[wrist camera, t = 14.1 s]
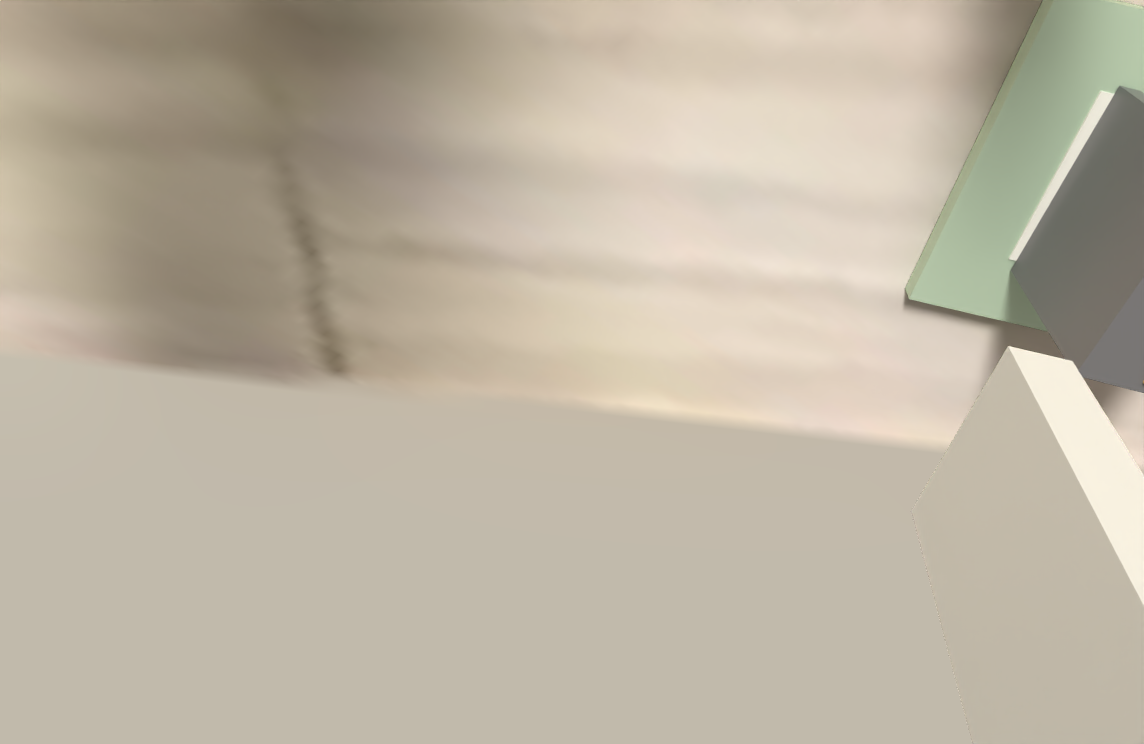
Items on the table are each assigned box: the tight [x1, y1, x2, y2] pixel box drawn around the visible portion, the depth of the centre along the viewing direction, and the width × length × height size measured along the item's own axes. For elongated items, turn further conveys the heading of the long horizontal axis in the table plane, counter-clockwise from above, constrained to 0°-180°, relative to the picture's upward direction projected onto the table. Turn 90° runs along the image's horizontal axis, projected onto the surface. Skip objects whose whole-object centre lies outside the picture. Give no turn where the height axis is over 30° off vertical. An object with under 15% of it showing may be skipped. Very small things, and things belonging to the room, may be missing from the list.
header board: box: [905, 0, 1144, 331], centre depth 33 cm, size 13×12×4 cm
